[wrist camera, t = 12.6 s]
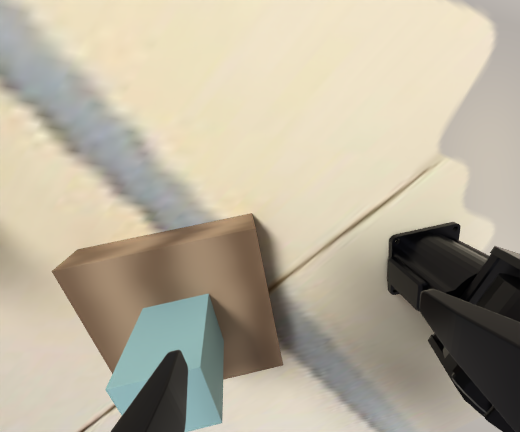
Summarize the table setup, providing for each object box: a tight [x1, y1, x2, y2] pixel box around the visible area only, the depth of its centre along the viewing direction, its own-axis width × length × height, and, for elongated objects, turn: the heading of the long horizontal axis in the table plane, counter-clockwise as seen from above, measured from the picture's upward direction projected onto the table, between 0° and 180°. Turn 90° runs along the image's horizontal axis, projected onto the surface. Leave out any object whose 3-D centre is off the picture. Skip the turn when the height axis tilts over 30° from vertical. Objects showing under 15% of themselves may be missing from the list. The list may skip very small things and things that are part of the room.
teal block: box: [106, 294, 224, 432], centre depth 17 cm, size 5×5×6 cm
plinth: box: [52, 213, 283, 379], centre depth 21 cm, size 14×14×3 cm
